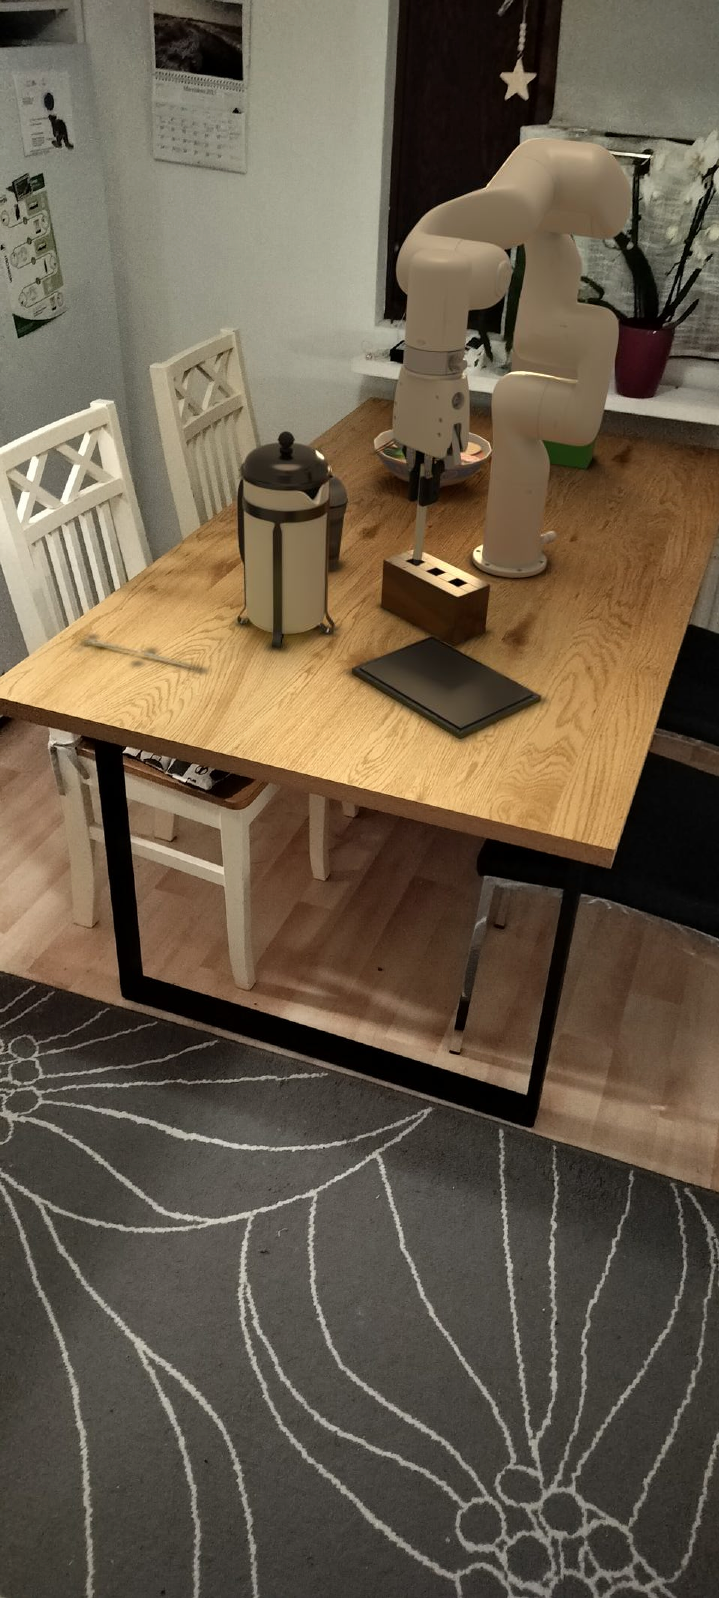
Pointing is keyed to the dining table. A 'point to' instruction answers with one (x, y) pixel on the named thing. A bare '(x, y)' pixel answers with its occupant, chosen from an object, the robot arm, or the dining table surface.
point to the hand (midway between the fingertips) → (423, 500)
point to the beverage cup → (336, 518)
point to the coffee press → (285, 537)
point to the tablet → (446, 686)
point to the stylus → (99, 643)
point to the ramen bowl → (470, 459)
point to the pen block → (435, 596)
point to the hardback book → (556, 451)
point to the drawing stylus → (419, 528)
